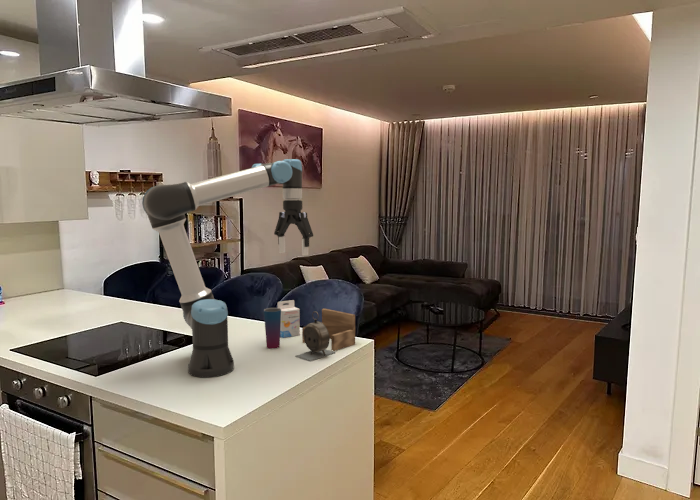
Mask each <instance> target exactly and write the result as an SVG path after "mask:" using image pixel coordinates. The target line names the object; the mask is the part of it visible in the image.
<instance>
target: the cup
mask: <svg viewBox="0 0 700 500" xmlns="http://www.w3.org/2000/svg"><path fill="white" fill-rule="evenodd" d="M263 316H264V319H263V320H264V329H265V330H264V331H265V339H266V341H265V342H266V348H267V349H270V350H271V349H278V348H280V347H281V345H280V344H281V343H280V342H281V337H280V326H281V309H280V308H278V307H267V308H264V309H263Z"/></svg>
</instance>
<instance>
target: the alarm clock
mask: <svg viewBox="0 0 700 500" xmlns="http://www.w3.org/2000/svg"><path fill="white" fill-rule="evenodd" d="M314 313H316V314H317V318H314ZM311 316H312V319H313V320H314V322H310V323H307V325H305V326H304V327H305V329H304V333H303V337H304V341H305V343H304V344H305V345H306V347H307V349H308V350H309V351H311V355H312V352H319V351H322V352H323V353H324V356H325V357H327V356H326V354H325V352H324V350H325V349H326V350H328V347H329V345H330V343H331V339H330V337H329V332H328V330H327V328H326V326H325V325H324V324H323V323H322V321H318V319H319V317H320V316H319V313H318V311H313V312H312V314H311Z"/></svg>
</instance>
